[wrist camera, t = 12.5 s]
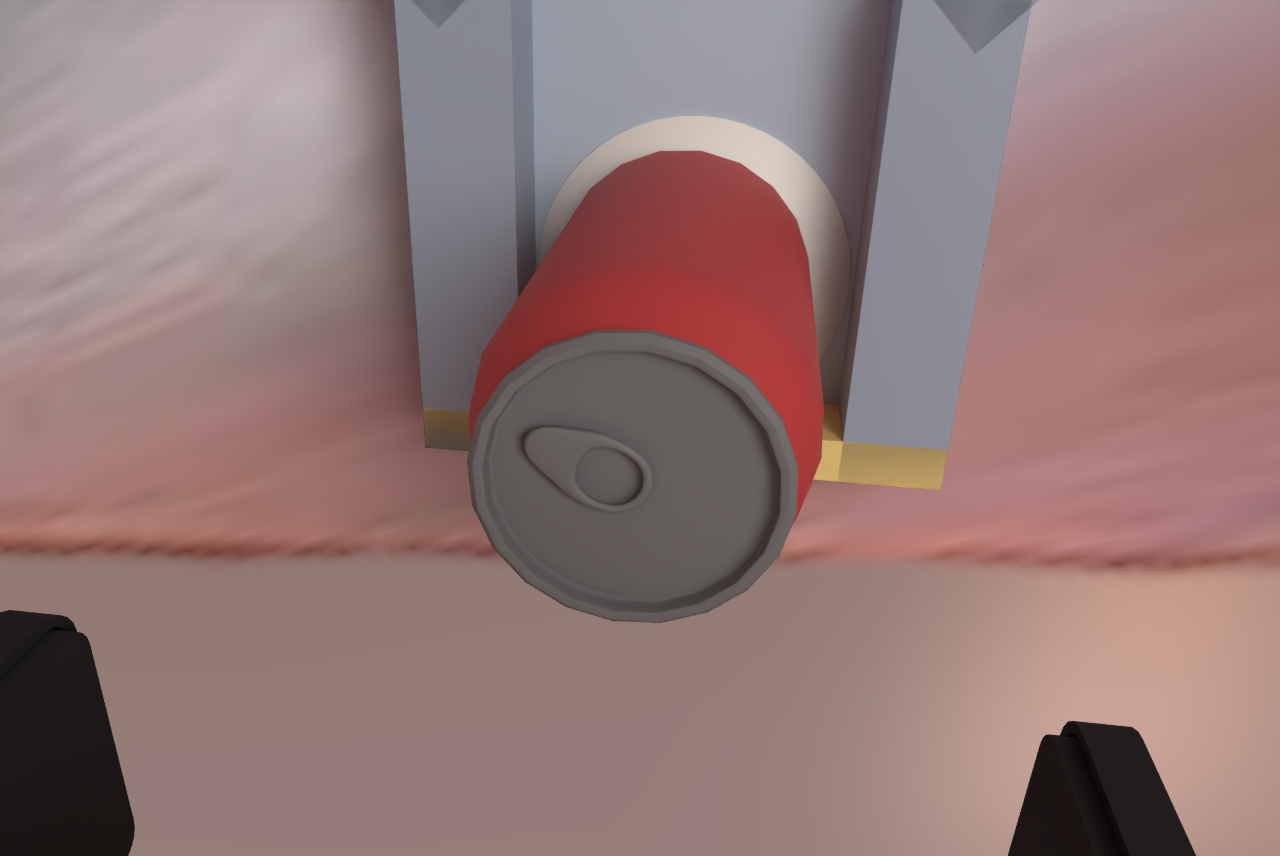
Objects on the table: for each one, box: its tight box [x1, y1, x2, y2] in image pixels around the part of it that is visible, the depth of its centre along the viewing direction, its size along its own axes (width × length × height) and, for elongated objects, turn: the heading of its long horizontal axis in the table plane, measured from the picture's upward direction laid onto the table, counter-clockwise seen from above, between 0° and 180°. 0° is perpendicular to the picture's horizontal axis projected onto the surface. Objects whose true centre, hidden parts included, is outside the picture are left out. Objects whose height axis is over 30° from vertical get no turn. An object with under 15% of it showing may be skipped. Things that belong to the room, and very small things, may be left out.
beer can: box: [467, 150, 824, 623], centre depth 22 cm, size 7×7×12 cm
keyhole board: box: [394, 0, 1039, 490], centre depth 25 cm, size 15×20×4 cm
